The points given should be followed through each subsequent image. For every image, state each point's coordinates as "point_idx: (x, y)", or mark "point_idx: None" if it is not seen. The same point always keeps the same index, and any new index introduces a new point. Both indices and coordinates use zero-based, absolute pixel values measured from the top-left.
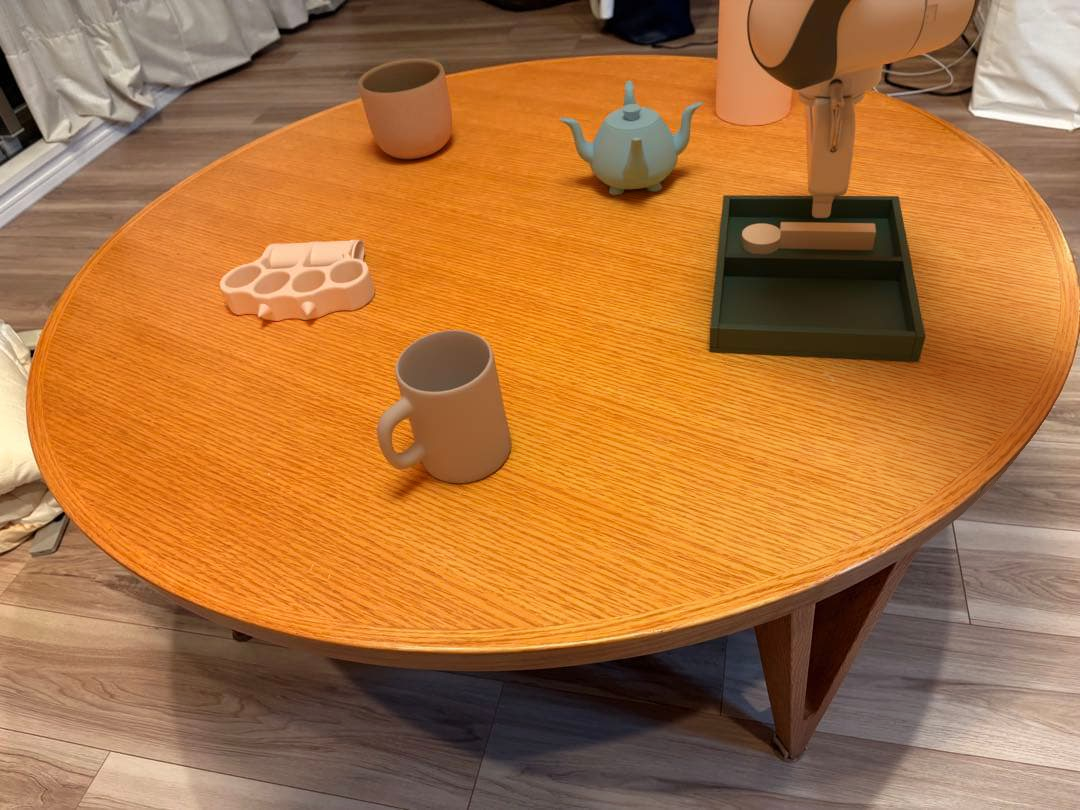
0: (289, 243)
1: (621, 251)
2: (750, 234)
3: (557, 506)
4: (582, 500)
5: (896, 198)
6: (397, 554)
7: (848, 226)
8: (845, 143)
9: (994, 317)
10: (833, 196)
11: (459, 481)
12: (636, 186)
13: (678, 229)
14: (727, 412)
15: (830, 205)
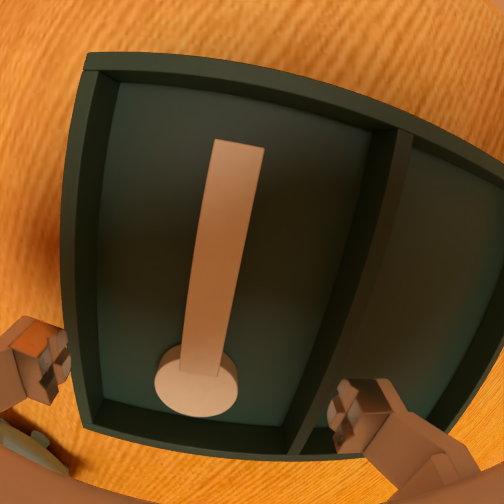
0: None
1: (196, 490)
2: (197, 406)
3: (486, 454)
4: (491, 446)
5: (97, 58)
6: None
7: (222, 219)
8: None
9: (464, 39)
10: (444, 435)
11: None
12: (67, 473)
13: (138, 446)
14: (492, 392)
15: (402, 405)
